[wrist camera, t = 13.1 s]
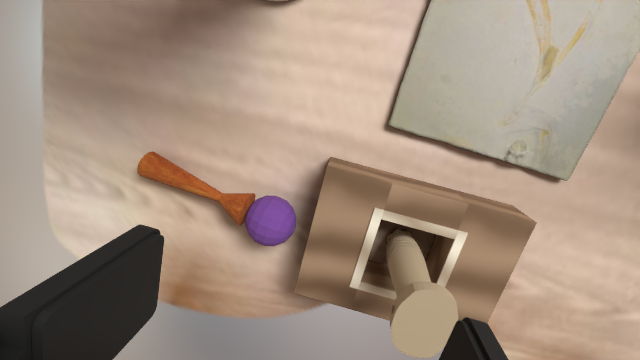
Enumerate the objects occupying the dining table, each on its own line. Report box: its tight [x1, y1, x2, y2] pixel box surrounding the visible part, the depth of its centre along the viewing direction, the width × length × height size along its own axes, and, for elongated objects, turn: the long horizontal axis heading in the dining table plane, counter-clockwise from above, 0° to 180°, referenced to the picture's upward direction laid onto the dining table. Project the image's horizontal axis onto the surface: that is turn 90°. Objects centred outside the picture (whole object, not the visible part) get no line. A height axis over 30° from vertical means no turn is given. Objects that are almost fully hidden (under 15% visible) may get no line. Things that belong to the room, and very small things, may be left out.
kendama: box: [138, 152, 296, 246], centre depth 38 cm, size 6×6×20 cm
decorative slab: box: [388, 0, 640, 181], centre depth 31 cm, size 27×21×2 cm
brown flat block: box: [294, 157, 537, 323], centre depth 36 cm, size 16×22×5 cm
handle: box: [386, 229, 458, 358], centre depth 32 cm, size 5×6×15 cm
